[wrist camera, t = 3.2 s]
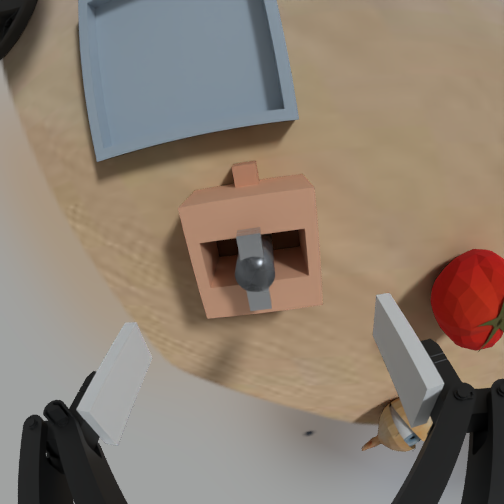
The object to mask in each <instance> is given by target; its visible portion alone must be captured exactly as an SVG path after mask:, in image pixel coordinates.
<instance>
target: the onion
mask: <svg viewBox="0 0 504 504" xmlns="http://www.w3.org/2000/svg"><path fill="white" fill-rule="evenodd" d="M431 426H432V419H431V417H429V419H428V421H427V423H426V424H423V425H419V426H416V427H413V428H411V427H410V424H409V421H408V419H407V416H406V413H405V411H404V408H403V406H402V403H401V401H400V398H397V399H396V400H394V401H392V402H391V403H389V404H388V405H387V406H386V407H385V408H384V410H383V412H382V414H381V416H380V420H379V428H378V429H379V430H378V435H377V436H376V437H374V438H372V439H371V440H370V441H369V442H367V443H366V444H365V445H364V446H363V447H362V451H363V450H366V449H369V448H372V447H375V446H377V445H379V444H383V445H385V446H386V447H388V448H390V449H392V450H396V451H409V450H412V449H414V448H415V444H416V443H417V442H419V441H420V440H422V441H425V439H426V437H427V433H428V431H429V429H430V427H431Z"/></svg>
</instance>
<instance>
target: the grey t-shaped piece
mask: <svg viewBox="0 0 504 504" xmlns="http://www.w3.org/2000/svg"><path fill="white" fill-rule="evenodd" d="M236 239H237V245H238V250H239V251H238V257H237V263H236V269H235V278H236V281H237V283H238V284H239V286H241V287H242V288H243V289H245V290H246V291H247V296H248V301H249V306H250V311H256V310H264V309H272V303H271V294H270V288H269V287H270V286H271V285H272V283H273V281H274V279H275V267H274V256H273V246H272V235H271V233H268V234H261V230H260V227H257V228H249V229H242V230H237V234H236Z"/></svg>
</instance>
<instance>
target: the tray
mask: <svg viewBox="0 0 504 504" xmlns="http://www.w3.org/2000/svg"><path fill="white" fill-rule="evenodd" d="M78 11H79V39H80V53H81V64H82V74H83V83H84V91H85V98H86V105H87V111H88V118H89V123H90V129H91V134H92V140H93V145H94V150H95V154H96V159H97V162H99V161H102V160H105V159H109V158H112V157H115V156H119V155H122V154H125V153H129V152H132V151H136V150H139V149H143V148H147V147H150V146H154V145H158V144H162V143H166V142H170V141H175V140H179V139H183V138H188V137H192V136H197V135H202V134H207V133H212V132H217V131H222V130H228V129H234V128H240V127H246V126H252V125H259V124H266V123H274V122H282V121H290V120H298V119H299V117H298V110H297V104H296V98H295V92H294V86H293V80H292V74H291V69H290V63H289V58H288V53H287V48H286V42H285V38H284V33H283V28H282V23H281V19H280V14H279V10H278V5H277V1H276V0H78Z"/></svg>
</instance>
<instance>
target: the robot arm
mask: <svg viewBox="0 0 504 504" xmlns="http://www.w3.org/2000/svg"><path fill="white" fill-rule="evenodd" d="M36 2H37V0H0V60H1V59H2V58H3V57H4V56H5V55H6V54H7V53H8V51H9V50H10V49H11V48H12V46H13V45H14V44H15V42H16V41H17V40H18V38H19V37H20V35H21V33H22V32H23V30H24V28H25V27H26V25H27V23H28V21H29V19H30V17H31V15H32V13H33V10H34V8H35V5H36ZM373 337H374V339H375V341H376V344H377V346H378V348H379V350H380V353H381V355H382V357H383V360H384V362H385V364H386V367H387V369H388V371H389V374H390V376H391V378H392V381H393V383H394V386H395V388H396V391H397V393H398V395H399V398H400V401H401V403H402V406H403V408H404V411H405V413H406V416H407V419H408V421H409V424H410V427H411V428H413V427H416V426H419V425H423V424H426V423H427V421H428V419H429V417H431V419H432V421H433V424H432V426H431V427H430V429H429V431H428V433H427V437H426V439H425V442H424V444H423V446H422V448H421V450H420V452H419V454H418V457H417V459H416V461H415V463H414V465H413V467H412V468H411V471H410V472H409V474H408V476H407V478H406V480H405V481H404V483H403V485H402V487H401V488H400V490H399V492H398V494H397V495H396V497H395V498H394V500H393V502H392V503H391V504H438V502H439V500H440V498H441V496H442V493H443V492H444V489H445V487H446V485H447V483H448V480H449V478H450V476H451V473H452V471H453V468H454V466H455V463H456V461H457V458H458V455H459V453H460V450H461V447H462V444H463V441H464V438H465V435H466V433H470V437H469V451H468V461H467V471H466V478H465V485H464V491H463V496H462V502H461V504H504V379H498V380H496V381H495V382H494V383H493V385H492V386H491V388H483V389H474V388H473V387H472V386H471V385H470V384H467V383H463V382H462V381H461V380H460V378H459V377H458V375H457V373H456V372H455V370H454V369H453V367H452V365H451V364H450V362H449V360H447V357H446V356H445V354H443V351H442V349H441V348H440V346H439V345H438V344H437V343H436V342H434V341H433V340H431V339H428V340H424V341H420V340H419V339H418V337H417V335H416V334H415V332H414V330H413V329H412V327H411V326H410V324H409V322H408V321H407V319H406V318H405V316H404V315H403V313H402V311H401V310H400V308H399V307H398V305H397V304H396V302H395V301H394V299H393V298H392V296H391V295H390V293H385V294H380V295H376V304H375V317H374V328H373ZM151 360H152V356H151V354H150V352H149V350H148V347H147V345H146V343H145V341H144V339H143V336H142V334H141V332H140V329H139V327H138V325H137V322H132V323H125V324H124V326H123V327H122V329H121V331H120V332H119V334H118V336H117V337H116V339H115V341H114V342H113V344H112V346H111V348H110V349H109V351H108V353H107V354H106V356H105V358H104V360H103V361H102V363H101V365H100V367H99V368H98V370H97V372H95V371H93V372H92V373H91V374H90V375H89V376H88V377H87V378H86V379H85V381H84V383H83V386H82V387H81V388H80V390H79V392H78V394H77V396H76V397H75V399H74V401H73V403H72V405H71V406H70V408H69V409H68V407H67V406H66V405H65V404H64V402H62V401H61V400H55V401H52V402H50V403H49V404H48V405H47V406H46V407H45V409H44V412H43V415H44V416H45V417H46V418H47V419H48V421H43V419H42V418H41V417H40V416H38V415H32V416H30V417H28V418H27V419H26V421H25V422H24V425H23V432H22V439H21V449H20V459H19V475H18V504H74V503H73V500H74V502H75V504H127V502H126V500H125V498H124V496H123V494H122V492H121V490H120V488H119V486H118V484H117V482H116V480H115V478H114V476H113V474H112V472H111V469H110V467H109V465H108V463H107V460H106V458H105V456H104V453H103V451H102V448H101V446H100V445H99V443H98V440H99V437H100V438H101V439H102V440H103V441H104V443H106V444H110V445H116V446H118V445H119V442H120V439H121V436H122V434H123V431H124V428H125V426H126V423H127V420H128V418H129V415H130V412H131V410H132V407H133V404H134V402H135V399H136V397H137V394H138V392H139V389H140V387H141V384H142V382H143V379H144V377H145V374H146V372H147V370H148V367H149V365H150V362H151ZM46 453H47V456H46Z"/></svg>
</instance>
